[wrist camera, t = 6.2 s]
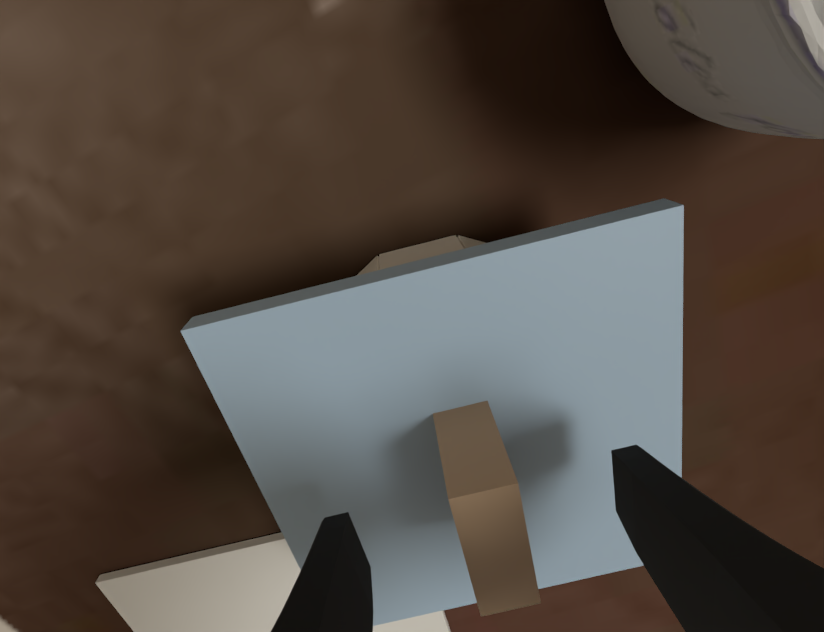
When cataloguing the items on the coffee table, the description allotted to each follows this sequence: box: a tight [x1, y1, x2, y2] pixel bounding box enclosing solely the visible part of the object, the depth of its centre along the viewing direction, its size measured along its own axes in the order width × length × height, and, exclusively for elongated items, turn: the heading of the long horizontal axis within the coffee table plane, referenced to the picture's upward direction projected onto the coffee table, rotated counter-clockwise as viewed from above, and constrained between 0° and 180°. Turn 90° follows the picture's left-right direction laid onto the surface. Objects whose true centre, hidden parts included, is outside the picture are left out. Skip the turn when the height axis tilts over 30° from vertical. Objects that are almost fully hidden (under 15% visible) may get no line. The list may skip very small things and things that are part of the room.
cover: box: [181, 199, 684, 626], centre depth 12 cm, size 12×12×4 cm
